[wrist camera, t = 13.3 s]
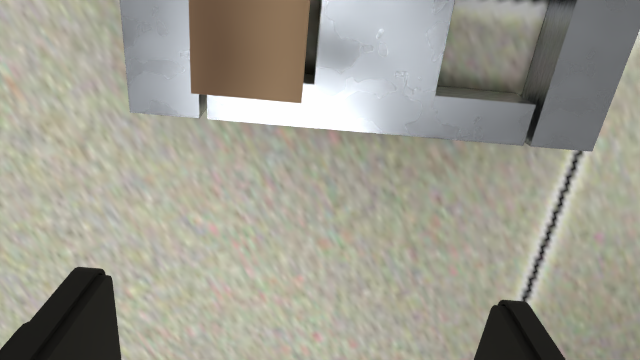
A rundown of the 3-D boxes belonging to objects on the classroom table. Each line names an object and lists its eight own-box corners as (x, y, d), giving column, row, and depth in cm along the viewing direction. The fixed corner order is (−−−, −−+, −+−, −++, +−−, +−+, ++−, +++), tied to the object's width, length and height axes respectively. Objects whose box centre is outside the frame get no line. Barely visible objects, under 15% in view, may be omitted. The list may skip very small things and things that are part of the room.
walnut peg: (310, -19, 27) (311, -16, 18) (303, 63, 29) (301, 103, 20) (228, -28, 27) (187, -29, 18) (227, 55, 29) (190, 93, 20)
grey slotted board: (634, -50, 27) (671, -53, 24) (567, 136, 32) (592, 151, 29) (130, -108, 25) (108, -118, 22) (146, 99, 30) (129, 112, 27)
